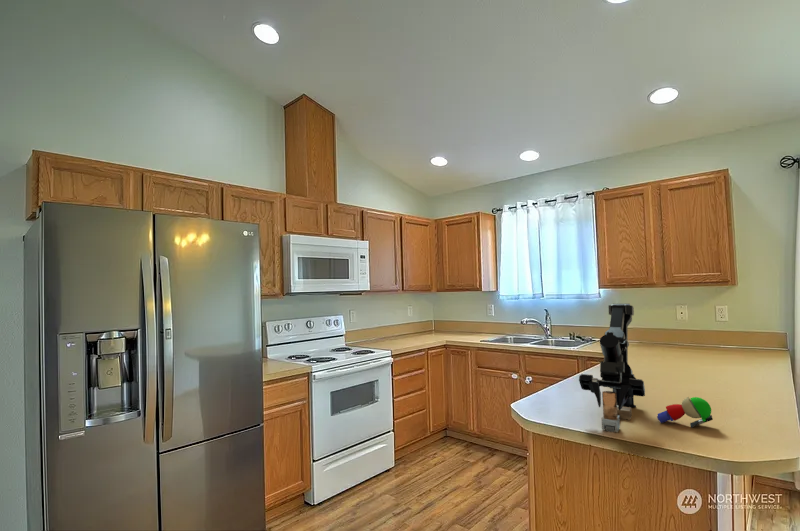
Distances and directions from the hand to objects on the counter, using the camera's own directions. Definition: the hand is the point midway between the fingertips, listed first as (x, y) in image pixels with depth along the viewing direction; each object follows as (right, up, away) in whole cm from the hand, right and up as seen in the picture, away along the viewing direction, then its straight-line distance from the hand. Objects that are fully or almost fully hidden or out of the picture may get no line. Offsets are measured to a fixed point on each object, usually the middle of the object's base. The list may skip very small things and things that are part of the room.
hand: (609, 407), depth 131 cm
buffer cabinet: (+10, -8, +14) cm, 19 cm away
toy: (+26, -7, +4) cm, 28 cm away
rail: (+4, -7, +5) cm, 10 cm away
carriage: (+1, -7, +1) cm, 7 cm away
